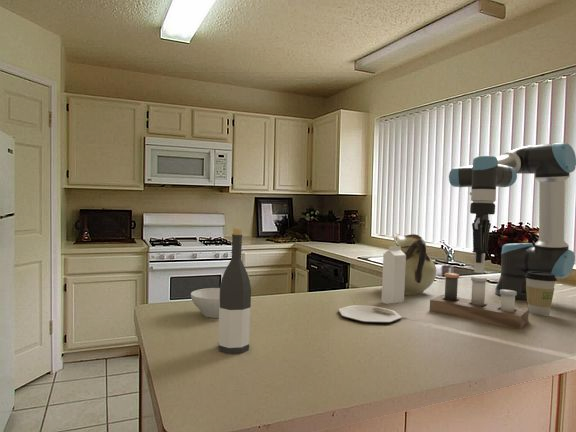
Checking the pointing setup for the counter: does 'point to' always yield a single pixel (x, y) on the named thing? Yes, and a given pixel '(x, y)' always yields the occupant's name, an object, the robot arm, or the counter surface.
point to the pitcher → (416, 264)
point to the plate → (368, 314)
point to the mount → (480, 312)
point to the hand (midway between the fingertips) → (479, 272)
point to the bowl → (207, 301)
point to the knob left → (507, 300)
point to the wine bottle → (234, 303)
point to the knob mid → (478, 290)
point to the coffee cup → (539, 291)
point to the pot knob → (451, 286)
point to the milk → (393, 275)
